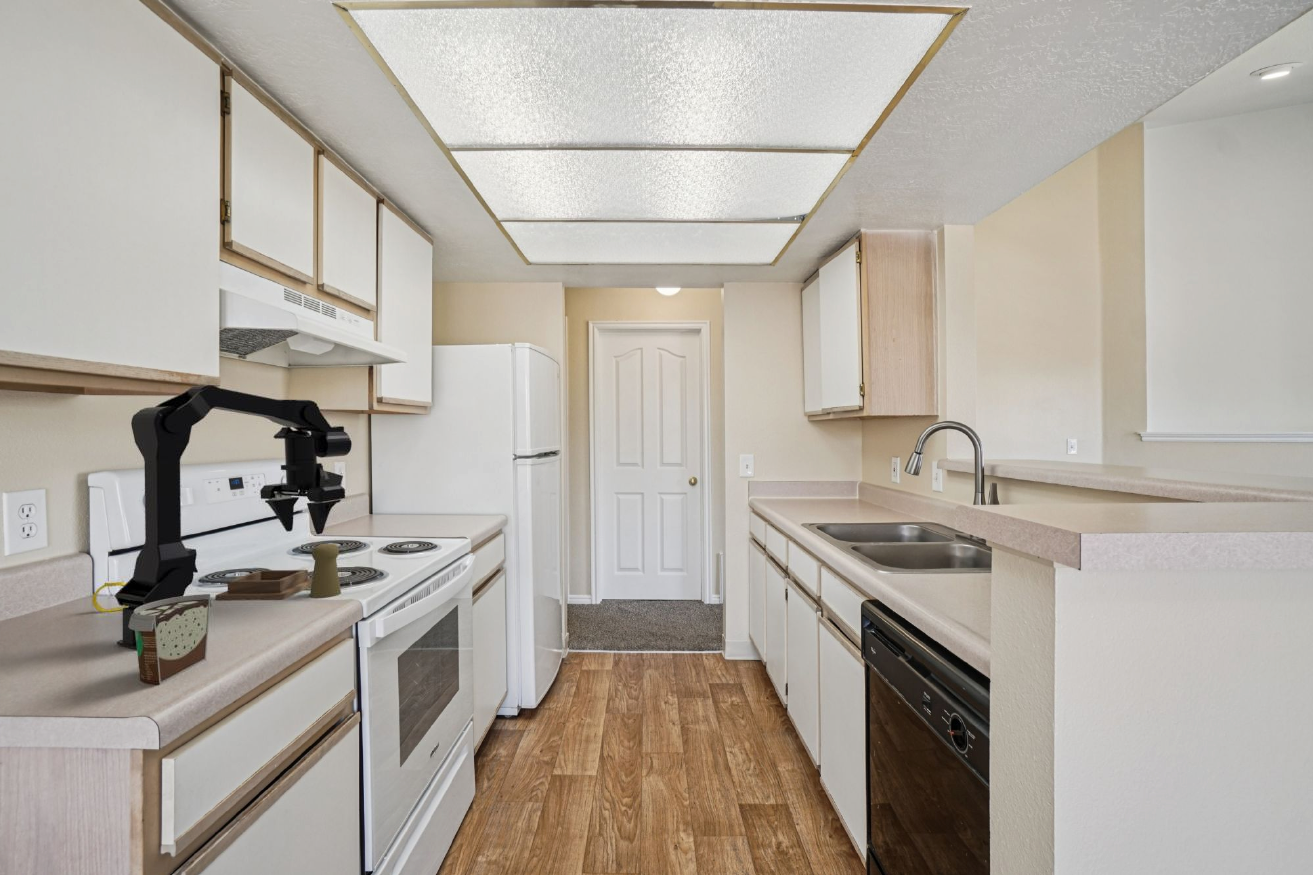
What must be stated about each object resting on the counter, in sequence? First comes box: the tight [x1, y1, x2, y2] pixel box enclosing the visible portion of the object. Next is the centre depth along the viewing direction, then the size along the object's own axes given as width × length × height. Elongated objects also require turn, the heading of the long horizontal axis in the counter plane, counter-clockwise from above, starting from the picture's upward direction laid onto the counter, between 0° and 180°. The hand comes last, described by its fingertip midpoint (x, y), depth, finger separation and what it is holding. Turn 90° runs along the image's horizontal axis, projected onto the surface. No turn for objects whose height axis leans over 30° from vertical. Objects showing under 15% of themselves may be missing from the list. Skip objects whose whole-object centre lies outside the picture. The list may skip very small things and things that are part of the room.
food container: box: [128, 593, 214, 686], centre depth 87 cm, size 12×6×10 cm, turn 4°
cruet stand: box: [215, 569, 312, 601], centre depth 133 cm, size 14×14×4 cm
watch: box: [91, 579, 128, 613], centre depth 118 cm, size 6×3×6 cm, turn 123°
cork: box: [309, 543, 342, 599], centre depth 130 cm, size 6×6×11 cm
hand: (304, 532), depth 126 cm, fingers open, 9 cm apart
